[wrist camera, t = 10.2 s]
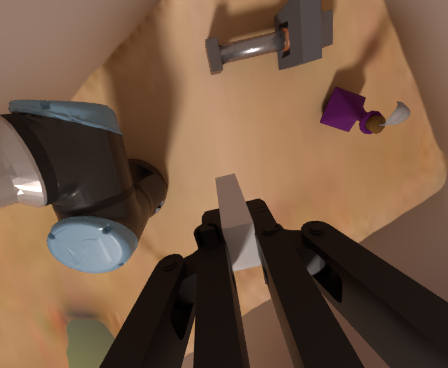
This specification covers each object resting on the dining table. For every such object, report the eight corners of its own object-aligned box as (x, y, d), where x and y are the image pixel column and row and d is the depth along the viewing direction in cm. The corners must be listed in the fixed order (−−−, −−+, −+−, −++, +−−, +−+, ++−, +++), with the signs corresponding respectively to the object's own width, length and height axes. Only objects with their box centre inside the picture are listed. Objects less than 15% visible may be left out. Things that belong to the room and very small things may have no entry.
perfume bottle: (340, 129, 50) (406, 146, 34) (312, 120, 49) (367, 134, 33) (355, 97, 48) (435, 98, 31) (327, 87, 46) (394, 82, 30)
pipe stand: (211, 75, 44) (212, 71, 37) (205, 47, 42) (205, 39, 35) (315, 50, 43) (333, 43, 37) (314, 21, 41) (333, 9, 35)
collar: (279, 70, 43) (303, 62, 33) (274, 17, 40) (299, -11, 29) (293, 66, 43) (321, 57, 33) (289, 13, 40) (320, -16, 29)
